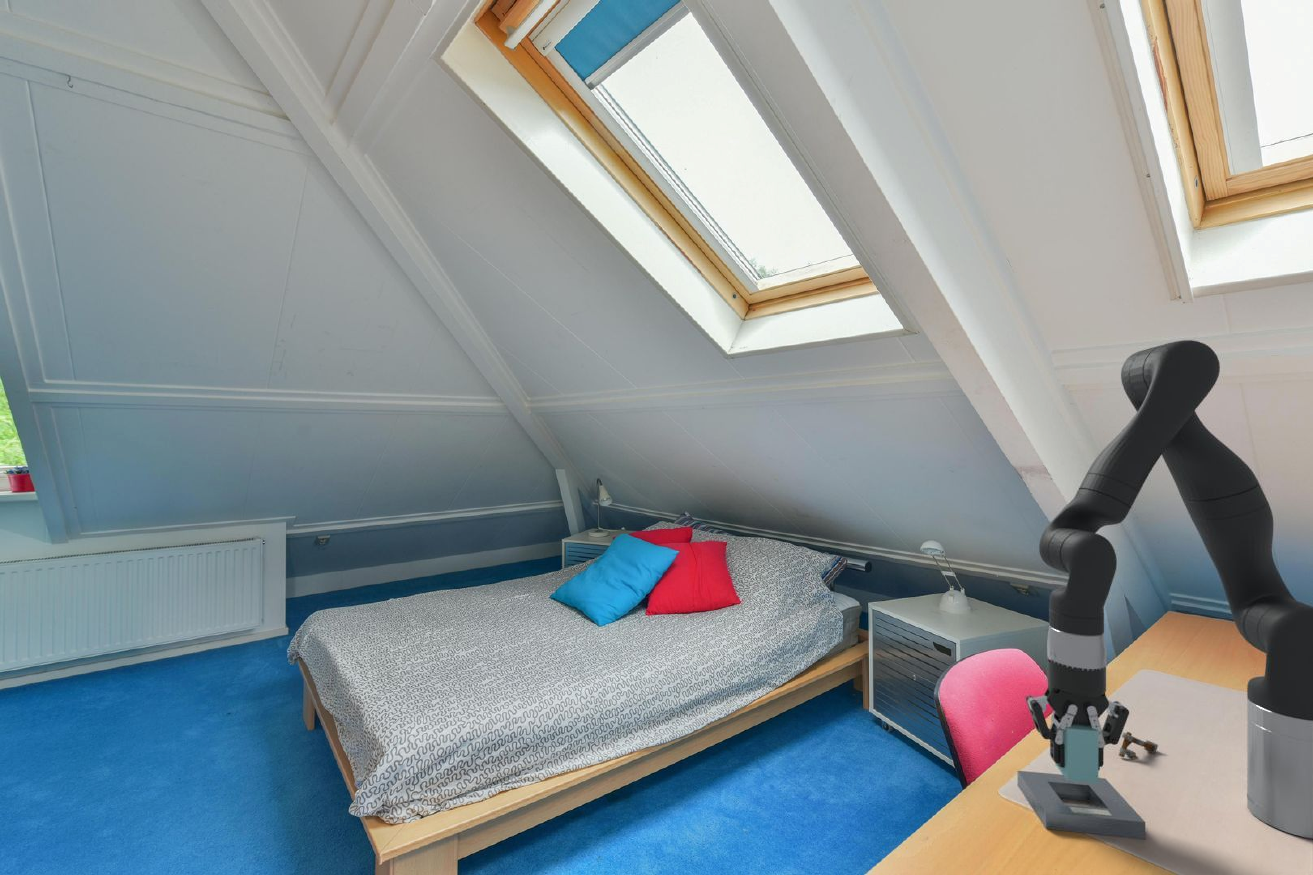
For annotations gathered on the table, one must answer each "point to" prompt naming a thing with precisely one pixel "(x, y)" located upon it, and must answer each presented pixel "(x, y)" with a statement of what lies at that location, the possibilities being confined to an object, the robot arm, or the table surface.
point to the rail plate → (1102, 819)
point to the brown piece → (1129, 739)
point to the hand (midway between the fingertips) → (1076, 765)
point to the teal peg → (1080, 754)
